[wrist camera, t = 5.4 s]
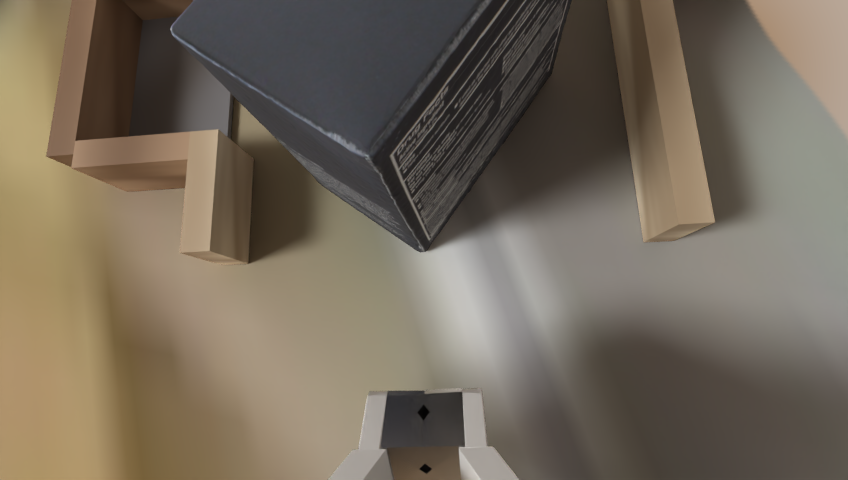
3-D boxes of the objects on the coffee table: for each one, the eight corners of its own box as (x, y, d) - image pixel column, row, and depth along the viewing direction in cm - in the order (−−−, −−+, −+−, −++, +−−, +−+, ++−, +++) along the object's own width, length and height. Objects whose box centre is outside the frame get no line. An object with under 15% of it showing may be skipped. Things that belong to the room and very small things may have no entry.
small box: (439, 9, 21) (416, -293, 11) (555, 71, 20) (652, -205, 10) (309, 180, 20) (146, 18, 10) (425, 258, 19) (377, 166, 8)
